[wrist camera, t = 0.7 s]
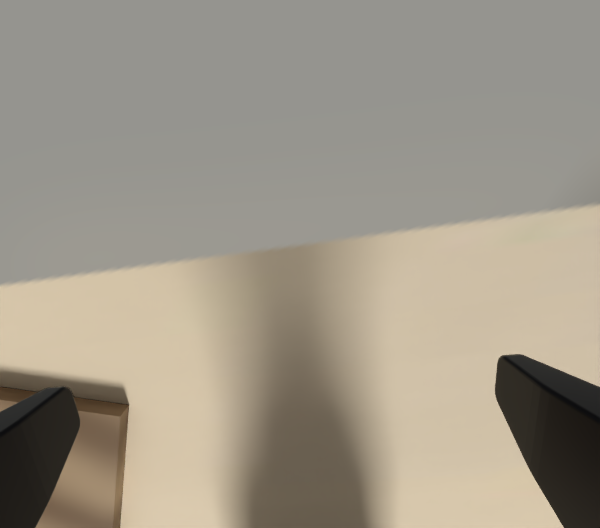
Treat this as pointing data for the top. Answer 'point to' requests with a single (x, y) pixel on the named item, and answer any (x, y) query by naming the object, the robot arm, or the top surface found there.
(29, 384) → the top surface
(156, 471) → the top surface
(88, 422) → the taupe cutting board
